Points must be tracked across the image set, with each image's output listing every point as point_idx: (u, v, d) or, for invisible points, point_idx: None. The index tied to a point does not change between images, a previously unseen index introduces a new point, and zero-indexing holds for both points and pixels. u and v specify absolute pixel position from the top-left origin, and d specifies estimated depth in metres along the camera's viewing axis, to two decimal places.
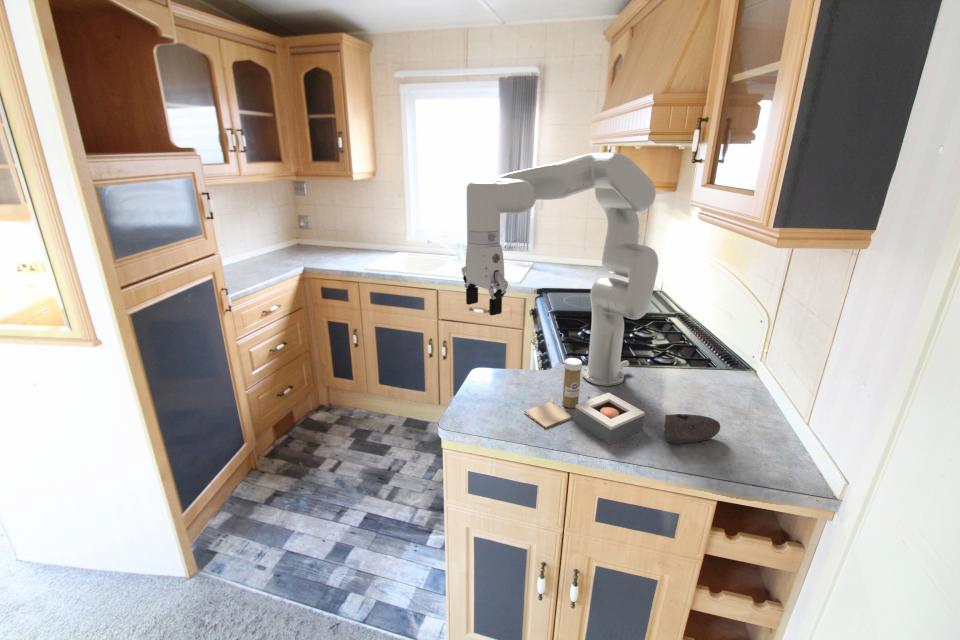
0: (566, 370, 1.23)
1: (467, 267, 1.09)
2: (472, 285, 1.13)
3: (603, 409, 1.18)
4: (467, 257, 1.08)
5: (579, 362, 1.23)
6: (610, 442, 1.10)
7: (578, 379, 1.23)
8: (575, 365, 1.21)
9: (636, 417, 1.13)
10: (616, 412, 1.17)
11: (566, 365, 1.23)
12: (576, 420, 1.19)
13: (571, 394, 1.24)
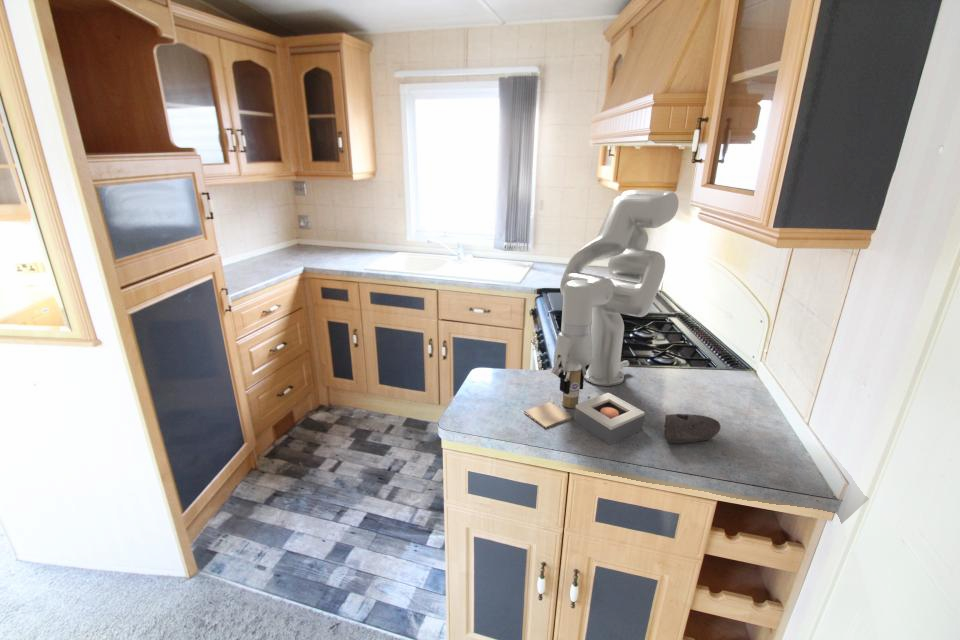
0: None
1: (570, 359, 1.19)
2: None
3: (603, 409, 1.18)
4: (571, 350, 1.18)
5: None
6: (610, 442, 1.10)
7: (578, 378, 1.23)
8: None
9: (636, 417, 1.13)
10: (616, 412, 1.17)
11: None
12: (576, 420, 1.19)
13: (571, 394, 1.24)
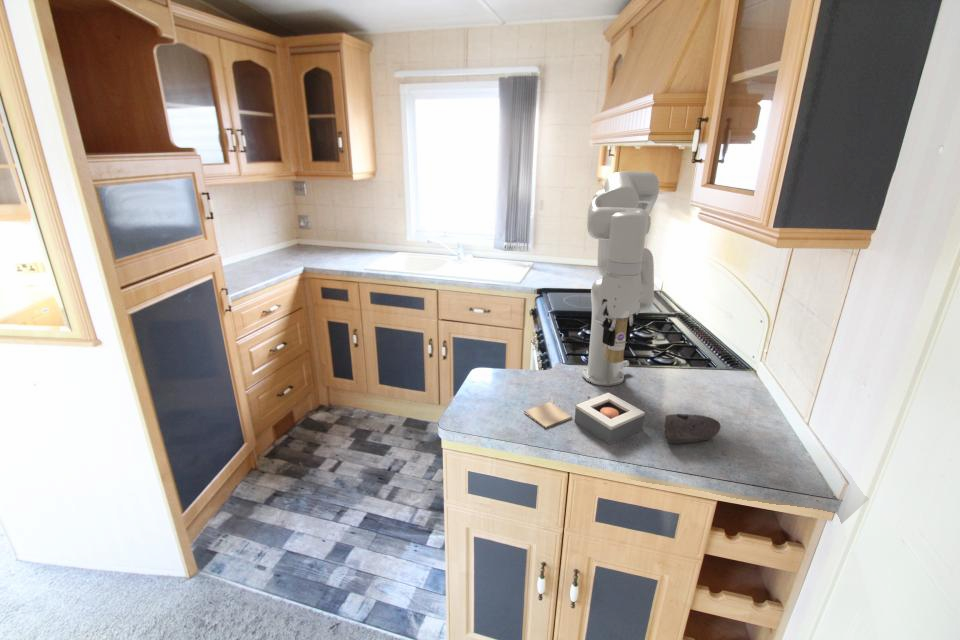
0: None
1: (617, 303, 1.03)
2: None
3: (603, 409, 1.18)
4: (618, 293, 1.02)
5: None
6: (610, 442, 1.10)
7: (624, 328, 1.07)
8: None
9: (636, 417, 1.13)
10: (616, 412, 1.17)
11: None
12: (576, 420, 1.19)
13: (616, 346, 1.08)
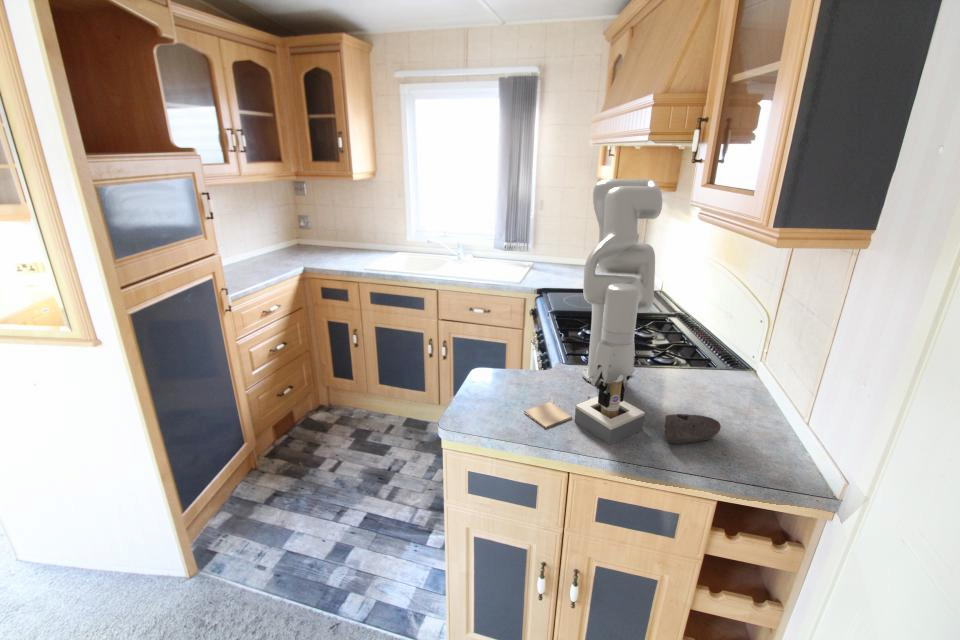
0: None
1: (611, 369, 1.09)
2: None
3: None
4: (613, 360, 1.08)
5: None
6: (610, 442, 1.10)
7: (619, 390, 1.13)
8: None
9: (636, 417, 1.13)
10: None
11: None
12: (576, 420, 1.19)
13: (611, 407, 1.14)
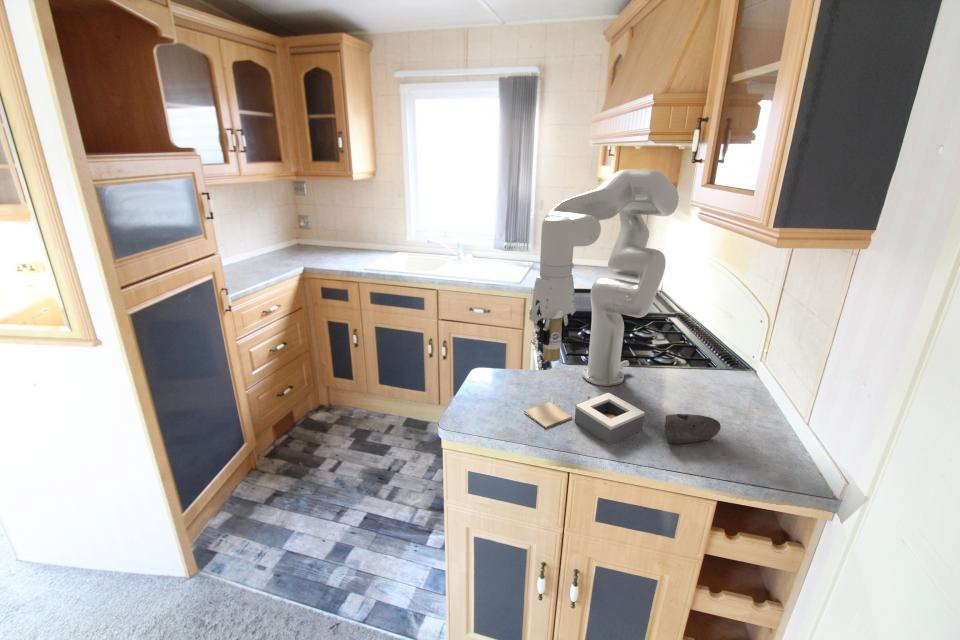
0: None
1: (549, 304, 1.08)
2: None
3: None
4: (550, 294, 1.07)
5: None
6: (610, 442, 1.10)
7: (559, 328, 1.12)
8: None
9: (636, 417, 1.13)
10: None
11: None
12: (576, 420, 1.19)
13: (552, 345, 1.13)
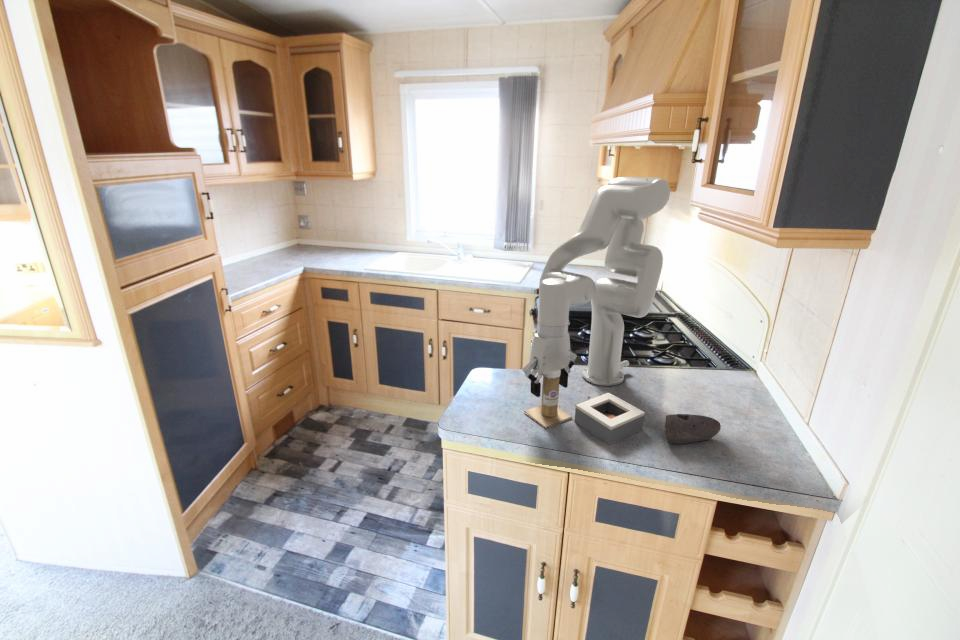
0: (544, 377, 1.18)
1: (546, 361, 1.13)
2: None
3: None
4: (547, 352, 1.12)
5: None
6: (610, 442, 1.10)
7: (556, 386, 1.18)
8: (553, 372, 1.16)
9: (636, 417, 1.13)
10: None
11: None
12: (576, 420, 1.19)
13: (550, 402, 1.19)
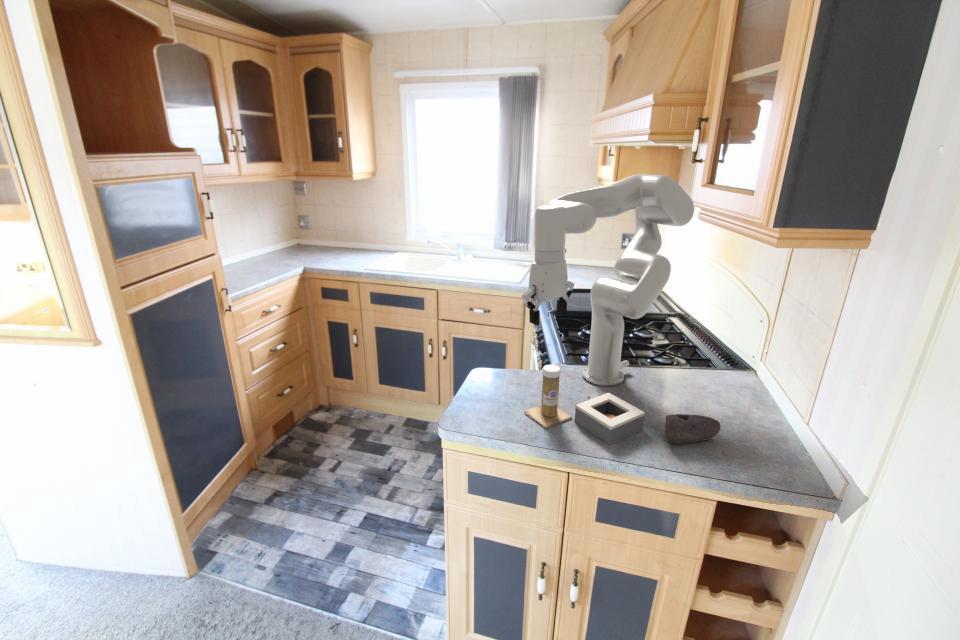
0: (544, 377, 1.18)
1: (545, 288, 1.15)
2: None
3: None
4: (545, 279, 1.14)
5: (557, 369, 1.17)
6: (610, 442, 1.10)
7: (556, 386, 1.18)
8: (553, 372, 1.16)
9: (636, 417, 1.13)
10: None
11: (543, 372, 1.18)
12: (576, 420, 1.19)
13: (549, 402, 1.19)
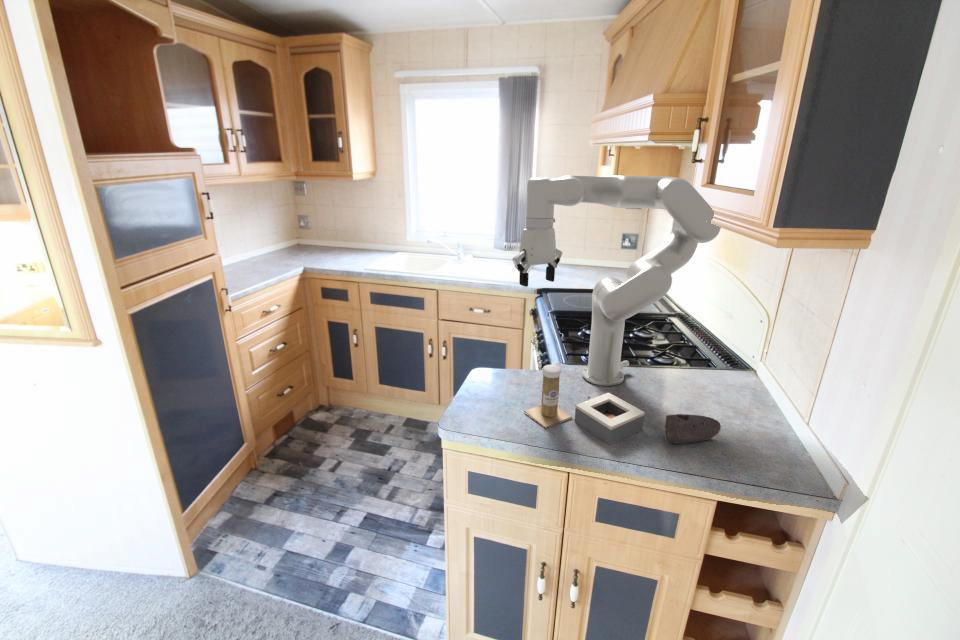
0: (544, 377, 1.18)
1: (534, 252, 1.27)
2: None
3: None
4: (534, 243, 1.26)
5: (558, 369, 1.17)
6: (610, 442, 1.10)
7: (556, 386, 1.18)
8: (553, 372, 1.16)
9: (636, 417, 1.13)
10: None
11: (544, 372, 1.18)
12: (576, 420, 1.19)
13: (550, 402, 1.19)
